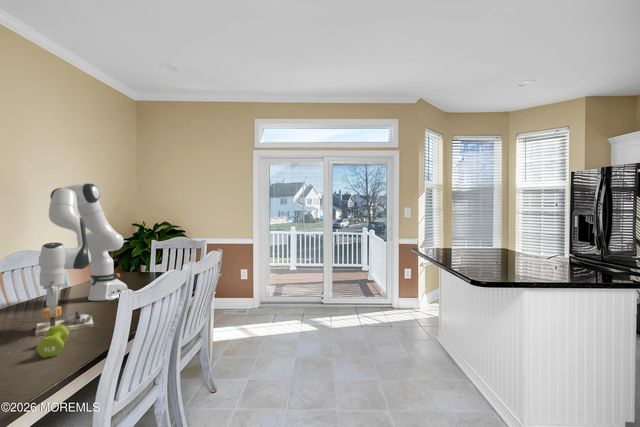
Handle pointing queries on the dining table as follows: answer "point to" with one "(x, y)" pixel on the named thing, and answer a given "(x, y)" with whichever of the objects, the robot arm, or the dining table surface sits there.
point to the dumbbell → (53, 341)
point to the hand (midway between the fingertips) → (52, 311)
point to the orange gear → (46, 314)
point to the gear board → (66, 323)
